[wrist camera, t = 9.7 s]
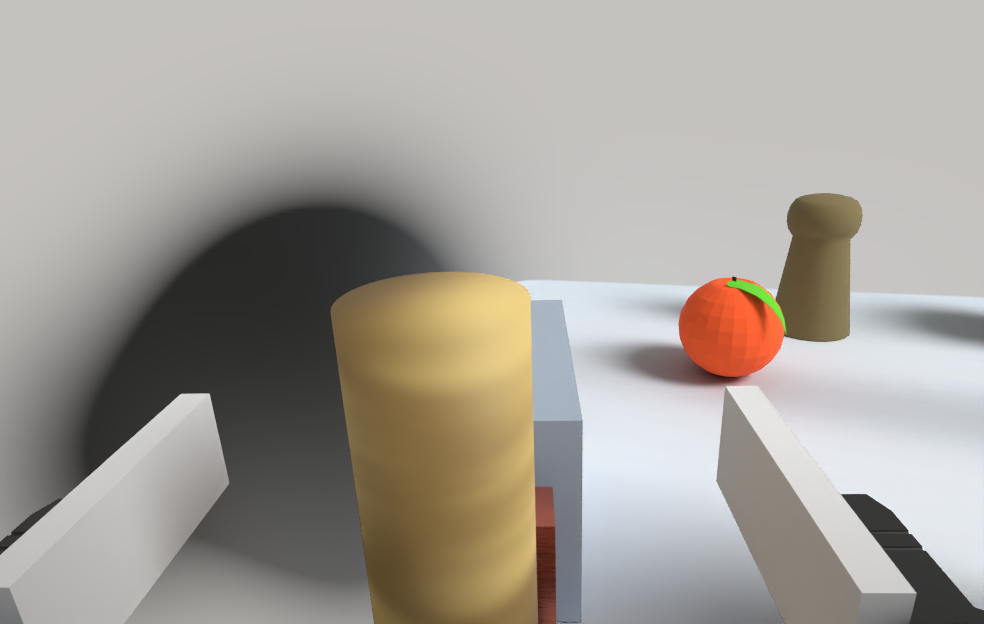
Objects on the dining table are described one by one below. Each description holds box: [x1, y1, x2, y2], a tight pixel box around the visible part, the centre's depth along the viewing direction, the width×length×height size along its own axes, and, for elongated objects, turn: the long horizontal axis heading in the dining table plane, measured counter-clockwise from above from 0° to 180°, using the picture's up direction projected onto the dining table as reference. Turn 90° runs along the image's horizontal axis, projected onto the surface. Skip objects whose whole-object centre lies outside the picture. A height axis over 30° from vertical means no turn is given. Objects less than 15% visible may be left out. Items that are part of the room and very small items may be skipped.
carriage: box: [331, 272, 538, 624], centre depth 15 cm, size 7×8×14 cm
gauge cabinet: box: [531, 300, 582, 622], centre depth 29 cm, size 8×13×9 cm, turn 177°
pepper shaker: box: [775, 193, 862, 342], centre depth 50 cm, size 6×6×11 cm
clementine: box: [679, 277, 787, 377], centre depth 43 cm, size 8×7×7 cm
